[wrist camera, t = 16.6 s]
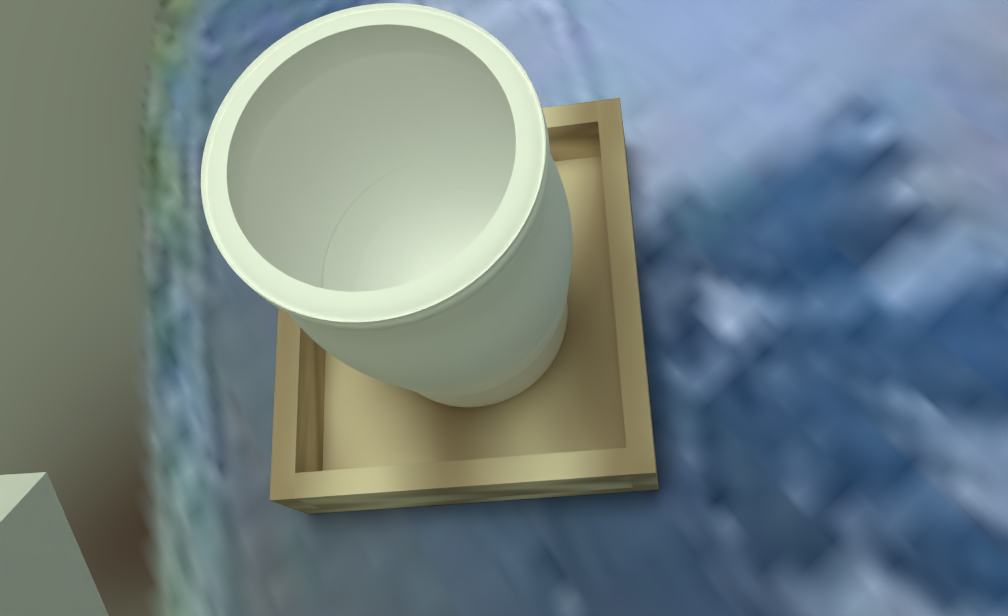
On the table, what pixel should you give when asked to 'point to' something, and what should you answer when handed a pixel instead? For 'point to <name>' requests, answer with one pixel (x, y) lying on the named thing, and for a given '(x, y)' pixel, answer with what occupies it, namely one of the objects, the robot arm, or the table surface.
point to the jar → (398, 200)
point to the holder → (508, 424)
